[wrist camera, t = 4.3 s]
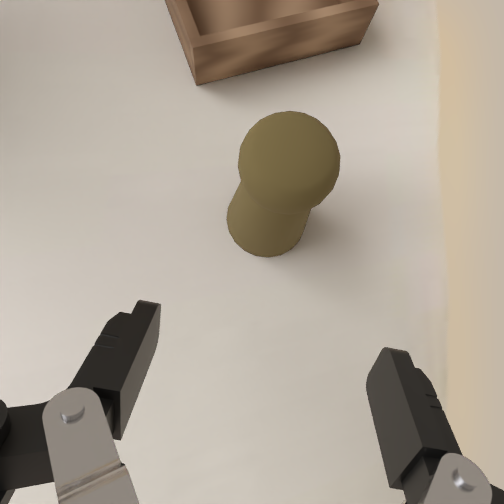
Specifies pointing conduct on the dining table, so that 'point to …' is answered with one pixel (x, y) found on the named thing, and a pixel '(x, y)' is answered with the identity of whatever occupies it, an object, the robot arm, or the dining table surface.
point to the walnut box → (263, 32)
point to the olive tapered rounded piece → (281, 181)
